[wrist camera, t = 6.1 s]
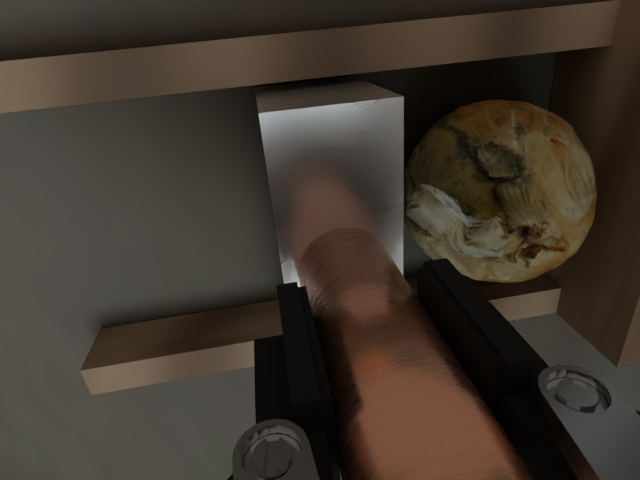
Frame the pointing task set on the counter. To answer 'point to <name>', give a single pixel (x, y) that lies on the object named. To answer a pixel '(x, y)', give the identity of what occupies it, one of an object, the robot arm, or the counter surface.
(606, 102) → the press frame
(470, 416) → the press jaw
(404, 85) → the counter surface
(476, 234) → the onion
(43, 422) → the counter surface
